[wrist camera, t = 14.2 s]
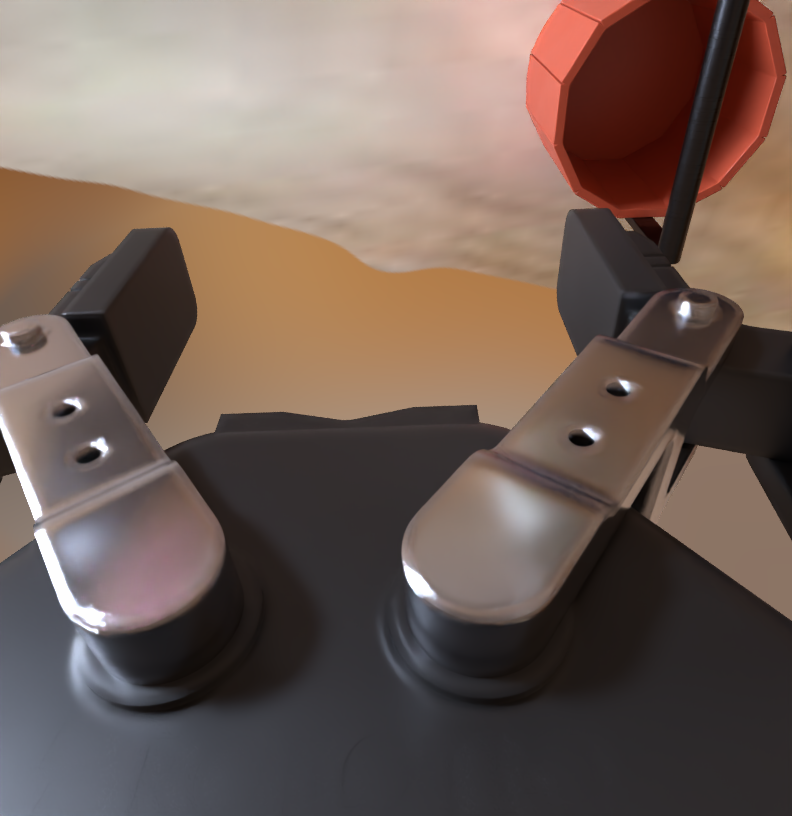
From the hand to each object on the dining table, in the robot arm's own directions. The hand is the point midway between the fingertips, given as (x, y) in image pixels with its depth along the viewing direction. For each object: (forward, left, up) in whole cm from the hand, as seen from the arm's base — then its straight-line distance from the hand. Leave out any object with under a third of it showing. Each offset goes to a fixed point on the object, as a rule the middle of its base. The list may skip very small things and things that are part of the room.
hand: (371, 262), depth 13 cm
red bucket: (+7, +12, -32) cm, 35 cm away
